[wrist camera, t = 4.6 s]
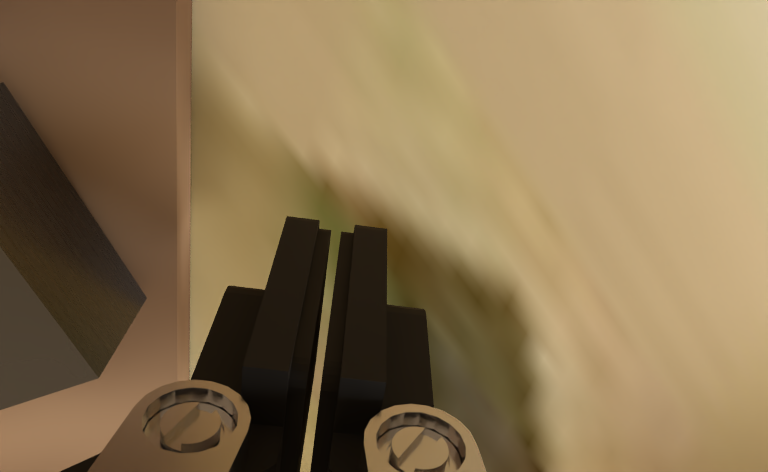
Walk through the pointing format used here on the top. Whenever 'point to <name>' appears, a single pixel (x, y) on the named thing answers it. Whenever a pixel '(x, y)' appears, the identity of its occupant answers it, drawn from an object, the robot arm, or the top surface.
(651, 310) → the top surface
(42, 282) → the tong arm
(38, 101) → the tongs board
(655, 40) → the top surface
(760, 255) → the top surface
